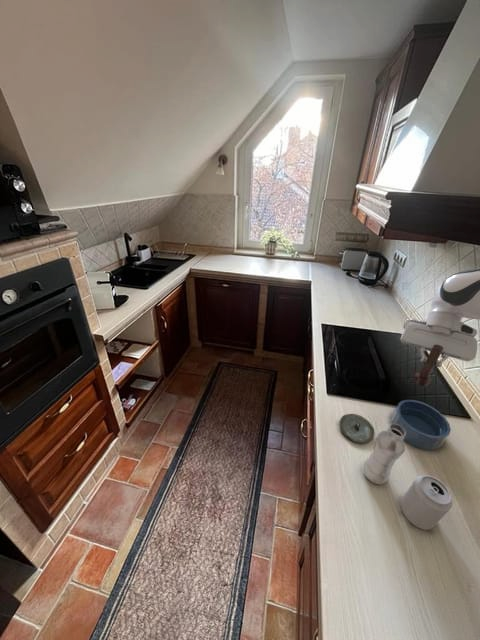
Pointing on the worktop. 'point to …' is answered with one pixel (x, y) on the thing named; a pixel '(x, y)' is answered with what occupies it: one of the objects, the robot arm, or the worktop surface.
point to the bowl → (421, 424)
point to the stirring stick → (428, 367)
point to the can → (426, 502)
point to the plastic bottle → (385, 454)
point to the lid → (356, 428)
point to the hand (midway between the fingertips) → (430, 364)
